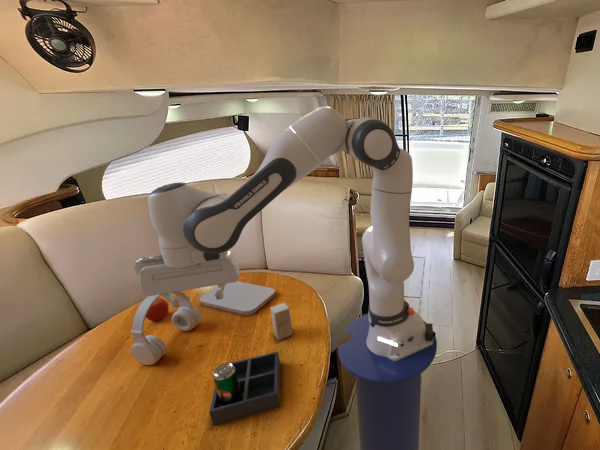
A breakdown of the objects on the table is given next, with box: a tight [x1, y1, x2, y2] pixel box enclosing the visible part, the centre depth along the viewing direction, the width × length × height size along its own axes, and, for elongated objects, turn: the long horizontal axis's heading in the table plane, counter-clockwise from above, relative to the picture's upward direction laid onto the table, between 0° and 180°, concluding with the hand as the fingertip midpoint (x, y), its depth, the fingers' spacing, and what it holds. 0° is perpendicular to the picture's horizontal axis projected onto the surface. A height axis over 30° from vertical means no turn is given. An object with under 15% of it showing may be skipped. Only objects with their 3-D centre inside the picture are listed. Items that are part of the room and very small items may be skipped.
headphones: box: [129, 291, 202, 366], centre depth 100 cm, size 20×8×19 cm, turn 173°
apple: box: [145, 297, 170, 322], centre depth 115 cm, size 8×8×8 cm
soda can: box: [212, 362, 243, 406], centre depth 80 cm, size 5×5×12 cm
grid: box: [208, 351, 281, 426], centre depth 86 cm, size 16×16×5 cm
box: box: [269, 302, 293, 341], centre depth 106 cm, size 5×4×11 cm
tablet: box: [199, 280, 276, 316], centre depth 127 cm, size 16×26×2 cm, turn 72°
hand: (199, 301), depth 78 cm, fingers open, 8 cm apart
